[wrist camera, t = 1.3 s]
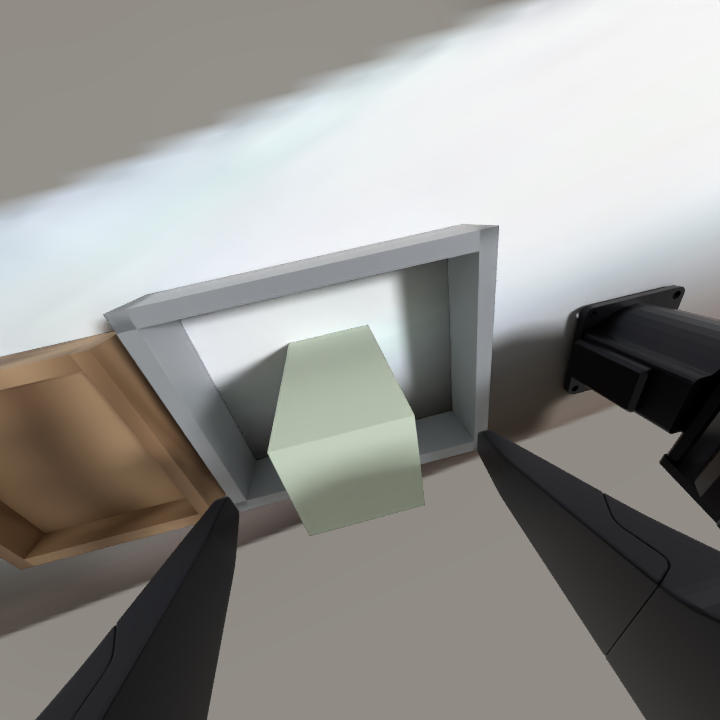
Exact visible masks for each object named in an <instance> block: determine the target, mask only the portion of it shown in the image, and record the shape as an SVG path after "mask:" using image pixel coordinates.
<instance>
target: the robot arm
mask: <svg viewBox="0 0 720 720" xmlns="http://www.w3.org/2000/svg"><path fill="white" fill-rule="evenodd" d="M684 292H685V289H684V287H681V286H676V285H672V286H668V287H664V288H660V289H655V290H651V291H647V292H643V293H639V294H635V295H631V296H626V297H622V298H618V299H614V300H610V301H606V302H602V303H597V304H593V305H589V306H587V307H585V308H584V309H583V310H582V311H581V313H580V316H579V321H578V325H577V330H576V334H575V339H574V343H573V348H572V353H571V357H570V362H569V366H568V371H567V375H566V380H565V384H564V390H565V391H566V392H568V393H569V394H576V393H580V392H584V391H588V390H593V391H595V392H597V393H598V394H600V395H602V396H603V397H605V398H606V399H608V400H610V401H611V402H613V403H615V404H616V405H618V406H619V407H621V408H623V409H624V410H626V411H628V412H635V413H637V414H638V415H640V416H642V417H643V418H645V419H647V420H649V421H650V422H652V423H653V424H655V425H657V426H658V427H660V428H662V429H663V430H665V431H667V432H668V433H670V434H673V433H677V432H682V434H681V435H680V437H679V438H678V440H677V441H676V443H675V444H674V445H673V447H672V448H671V450H670V451H669V453H668V454H664V455H663V457H662V458H661V460H660V461H659V462H660V464H661V465H662V466H663V467H664V468H665V469H666V471H667V472H668V473H669V474H670V475H671V476H672V477H673V478H674V479H675V480H676V481H677V482H678V483H679V484H680V485H681V486H682V487H683V488H684V490H685V491H686V492H687V493H688V494H690V496H691V497H692V498H693V499H694V500H695V501H696V502H697V503H698V504H699V505H700V506H701V507H702V508H703V510H704V511H705V512H706V513H707V514H708V515H709V516H710V517H711V518H712V519H713V520H714V521H715V522H716V523H717V526H718V527H719V529H720V320H717V319H713V318H709V317H705V316H701V315H697V314H693V313H689V312H685V311H681V310H678V307H679V305H680V302H681V300H682V297H683V295H684ZM477 450H478V453H479V455H480V457H481V459H482V461H483V463H484V465H485V467H486V469H487V471H488V473H489V474H490V477H491V478H492V481H493V482H494V484H495V486H496V488H497V490H498V492H499V494H500V496H501V497H502V499H503V500H504V502H505V503H506V505H507V507H508V508H509V510H510V511H511V513H512V514H513V516H514V517H515V519H516V520H517V522H518V524H519V525H520V526H521V528H522V530H523V531H524V533H525V534H526V536H527V537H528V539H529V540H530V542H531V543H532V545H533V547H534V548H535V550H536V551H537V553H538V554H539V556H540V557H541V559H542V560H543V562H544V563H545V565H546V567H547V568H548V570H549V571H550V572H551V574H552V576H553V577H554V579H555V580H556V582H557V583H558V585H559V586H560V588H561V589H562V591H563V593H564V594H565V596H566V597H567V599H568V600H569V602H570V603H571V605H572V606H573V608H574V610H575V611H576V613H577V614H578V616H579V617H580V619H581V620H582V621H583V623H584V625H585V626H586V628H587V629H588V631H589V633H590V634H591V636H592V637H593V639H594V640H595V642H596V643H597V645H598V646H599V648H600V649H601V651H602V652H603V654H604V655H606V659H607V661H608V662H609V663H610V665H611V667H612V668H613V670H614V671H615V673H616V674H617V676H618V677H619V679H620V680H621V682H622V684H623V685H624V687H625V688H626V690H627V691H628V693H629V694H630V696H631V697H632V699H633V700H634V702H635V703H636V705H637V707H638V708H639V710H640V711H641V713H642V714H643V716H644V717H645V719H646V720H720V551H718V550H716V549H714V548H712V547H710V546H707V545H705V544H703V543H701V542H699V541H697V540H695V539H693V538H691V537H689V536H687V535H685V534H682V533H680V532H678V531H676V530H674V529H672V528H670V527H668V526H666V525H664V524H662V523H660V522H658V521H656V520H654V519H652V518H650V517H648V516H646V515H644V514H642V513H640V512H638V511H636V510H635V509H633V508H630V507H629V506H627V505H625V504H623V503H621V502H620V501H618V500H616V499H614V498H612V497H610V496H609V495H607V494H605V493H604V494H603V493H602V492H601V491H599V490H598V489H596V488H594V487H592V486H591V485H589V484H587V483H585V482H583V481H581V480H580V479H578V478H576V477H574V476H573V475H571V474H569V473H567V472H565V471H564V470H562V469H560V468H558V467H556V466H555V465H553V464H551V463H549V462H547V461H546V460H544V459H542V458H540V457H538V456H537V455H535V454H533V453H531V452H529V451H528V450H526V449H524V448H522V447H520V446H519V445H517V444H515V443H513V442H511V441H510V440H508V439H506V438H504V437H502V436H501V435H499V434H497V433H495V432H493V431H492V430H484V431H480V432H479V433H478V436H477ZM238 526H239V511H238V509H237V507H236V506H235V504H234V503H233V502H232V500H231V499H230V497H223V498H219V499H216V500H215V501H214V502H213V503H212V504H211V506H210V507H209V508H208V509H207V511H206V512H205V513H204V514H203V516H202V517H201V518H200V519H199V521H198V522H197V523H196V524H195V526H194V527H193V528H192V529H191V531H190V532H189V533H188V534H187V536H186V537H185V538H184V539H183V541H182V542H181V543H180V544H179V546H178V547H177V548H176V549H175V551H174V552H173V553H172V554H171V556H170V557H169V558H168V559H167V561H166V562H165V563H164V564H163V566H162V567H161V568H160V569H159V571H158V572H157V573H156V574H155V576H154V577H153V578H152V579H151V581H150V582H149V583H148V584H147V586H146V587H145V588H144V589H143V591H142V592H141V593H140V594H139V596H138V597H137V598H136V599H135V601H134V602H133V603H132V604H131V606H130V607H129V608H128V609H127V611H126V612H125V613H124V614H123V616H122V617H121V618H120V619H119V621H118V622H117V625H116V626H114V627H113V628H112V629H111V630H110V632H109V633H108V634H107V635H106V637H105V638H104V639H103V641H102V642H101V643H100V644H99V645H98V647H97V648H96V649H95V650H94V652H93V653H92V654H91V655H90V657H89V658H88V659H87V660H86V661H85V662H84V664H83V665H82V666H81V667H80V669H79V670H78V671H77V672H76V673H75V675H74V676H73V677H72V678H71V679H70V680H69V681H68V683H67V684H66V685H65V686H64V687H63V688H62V690H61V691H60V692H59V693H58V694H57V695H56V697H55V698H54V699H53V700H52V701H51V702H50V704H49V705H48V706H47V707H46V708H45V709H44V710H43V712H42V713H41V714H40V715H39V716H38V717H37V718H36V720H207V716H208V710H209V705H210V699H211V693H212V689H213V683H214V678H215V672H216V667H217V662H218V656H219V650H220V645H221V640H222V634H223V628H224V623H225V617H226V612H227V607H228V602H229V596H230V590H231V585H232V580H233V574H234V568H235V560H236V550H237V538H238Z"/></svg>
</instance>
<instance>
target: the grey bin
mask: <svg viewBox="0 0 720 720" xmlns="http://www.w3.org/2000/svg"><path fill="white" fill-rule="evenodd" d="M498 235H499V226H496V225H470V224H461V225H457V226H452V227H448V228H443V229H439V230H434V231H430V232H425V233H421V234H416V235H412V236H408V237H403V238H399V239H394V240H390V241H385V242H381V243H376V244H372V245H367V246H363V247H358V248H354V249H349V250H345V251H340V252H336V253H331V254H327V255H322V256H318V257H313V258H309V259H304V260H300V261H295V262H291V263H286V264H282V265H277V266H273V267H268V268H264V269H259V270H255V271H250V272H246V273H242V274H237V275H233V276H228V277H224V278H219V279H215V280H210V281H206V282H201V283H197V284H192V285H188V286H183V287H179V288H174V289H170V290H165V291H161V292H156V293H152V294H147V295H145V296H142V297H140V298H138V299H136V300H134V301H132V302H129V303H127V304H125V305H123V306H121V307H118V308H116V309H114V310H112V311H110V312H107V313H105V314H103V315H104V317H105V318H106V320H107V321H108V323H109V324H110V326H111V327H112V328H113V330H114V331H115V333H116V334H117V336H118V337H119V339H120V340H121V342H122V343H123V345H124V346H125V347H126V349H127V350H128V352H129V353H130V355H131V356H132V358H133V359H134V361H135V362H136V363H137V365H138V366H139V368H140V369H141V371H142V372H143V374H144V375H145V377H146V378H147V380H148V381H149V382H150V384H151V385H152V387H153V388H154V390H155V391H156V393H157V394H158V396H159V397H160V399H161V400H162V401H163V403H164V404H165V406H166V407H167V409H168V410H169V412H170V413H171V415H172V416H173V417H174V419H175V420H176V422H177V423H178V425H179V426H180V428H181V429H182V431H183V432H184V434H185V435H186V436H187V438H188V439H189V441H190V442H191V444H192V445H193V447H194V448H195V450H196V451H197V452H198V454H199V455H200V457H201V458H202V460H203V461H204V463H205V464H206V466H207V467H208V469H209V470H210V471H211V473H212V474H213V476H214V477H215V479H216V480H217V482H218V483H219V485H220V486H221V487H222V489H223V490H224V492H225V493H226V495H227V496H228V497H230V499H231V500H232V502H233V503H234V504H235V506H236V507H237V509H238V511H239V512H241V511H245V510H249V509H252V508H256V507H260V506H264V505H268V504H272V503H275V502H279V501H283V500H287V499H291V498H290V496H289V494H288V493H287V491H286V489H285V487H284V485H283V483H282V481H281V479H280V477H279V475H278V473H277V471H276V469H275V467H274V465H273V463H272V461H271V459H270V457H267V458H263V459H260V460H256V459H255V458H254V456H253V454H252V452H251V450H250V448H249V447H248V445H247V443H246V441H245V439H244V437H243V436H242V434H241V432H240V430H239V428H238V426H237V425H236V423H235V421H234V419H233V417H232V415H231V414H230V412H229V410H228V408H227V406H226V404H225V403H224V401H223V399H222V397H221V395H220V393H219V392H218V390H217V388H216V386H215V384H214V382H213V381H212V379H211V377H210V375H209V373H208V371H207V370H206V368H205V366H204V364H203V362H202V360H201V359H200V357H199V355H198V353H197V351H196V350H195V348H194V346H193V344H192V342H191V340H190V339H189V337H188V335H187V333H186V331H185V329H184V328H183V326H182V324H181V322H180V320H179V319H184V318H188V317H192V316H197V315H201V314H206V313H210V312H214V311H219V310H223V309H228V308H232V307H236V306H241V305H245V304H249V303H254V302H258V301H263V300H267V299H271V298H276V297H280V296H285V295H289V294H293V293H298V292H302V291H306V290H311V289H315V288H320V287H324V286H328V285H333V284H337V283H342V282H346V281H350V280H355V279H359V278H364V277H368V276H372V275H377V274H381V273H385V272H390V271H394V270H399V269H403V268H407V267H412V266H416V265H421V264H425V263H429V262H434V261H438V260H442V259H447V258H448V272H449V308H450V344H451V380H452V411H449V412H445V413H441V414H437V415H433V416H429V417H425V418H421V419H417V420H415V423H416V431H417V440H418V448H419V457H420V465H421V464H425V463H429V462H432V461H436V460H440V459H444V458H448V457H451V456H455V455H459V454H463V453H467V452H471V451H474V450H477V436H478V433H479V432H480V431H484V430H488V412H489V395H490V377H491V359H492V342H493V324H494V306H495V288H496V271H497V253H498Z"/></svg>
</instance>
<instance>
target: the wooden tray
mask: <svg viewBox="0 0 720 720" xmlns="http://www.w3.org/2000/svg"><path fill="white" fill-rule="evenodd" d="M225 494H226V493H225V492H224V490H223V489H222V487H221V486H220V485H219V483H218V482H217V480H216V479H215V477H214V476H213V474H212V473H211V471H210V470H209V469H208V467H207V466H206V464H205V463H204V461H203V460H202V458H201V457H200V455H199V454H198V452H197V451H196V450H195V448H194V447H193V445H192V444H191V442H190V441H189V439H188V438H187V436H186V435H185V434H184V432H183V431H182V429H181V428H180V426H179V425H178V423H177V422H176V420H175V419H174V417H173V416H172V415H171V413H170V412H169V410H168V409H167V407H166V406H165V404H164V403H163V401H162V400H161V399H160V397H159V396H158V394H157V393H156V391H155V390H154V388H153V387H152V385H151V384H150V382H149V381H148V380H147V378H146V377H145V375H144V374H143V372H142V371H141V369H140V368H139V366H138V365H137V363H136V362H135V361H134V359H133V358H132V356H131V355H130V353H129V352H128V350H127V349H126V347H125V346H124V345H123V343H122V342H121V340H120V339H119V337H118V336H117V334H116V333H115V331H112V332H108V333H103V334H99V335H94V336H90V337H86V338H81V339H77V340H73V341H68V342H64V343H59V344H55V345H51V346H46V347H42V348H37V349H33V350H29V351H24V352H20V353H15V354H11V355H7V356H2V357H0V557H1V558H2V559H4V560H6V561H7V562H9V563H11V564H12V565H14V566H15V567H17V568H19V569H20V570H21V569H25V568H29V567H33V566H37V565H41V564H44V563H48V562H52V561H56V560H60V559H64V558H67V557H71V556H75V555H79V554H83V553H86V552H90V551H94V550H98V549H102V548H106V547H109V546H113V545H117V544H121V543H125V542H129V541H132V540H136V539H140V538H144V537H148V536H152V535H155V534H159V533H163V532H167V531H171V530H174V529H178V528H182V527H186V526H190V525H194V524H196V523H197V522H198V521H199V519H200V518H201V517H202V516H203V514H204V513H205V512H206V511H207V509H208V508H209V507H210V506H211V504H212V503H213V502H214V501H215V500H216V499H219V498H223V497H225Z"/></svg>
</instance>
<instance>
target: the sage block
mask: <svg viewBox="0 0 720 720" xmlns="http://www.w3.org/2000/svg"><path fill="white" fill-rule="evenodd" d="M267 453H268V455H269V457H270V459H271V461H272V463H273V465H274V467H275V469H276V471H277V473H278V475H279V477H280V479H281V481H282V483H283V485H284V487H285V489H286V491H287V493H288V494H289V496H290V498H291V500H292V502H293V504H294V506H295V508H296V510H297V512H298V514H299V516H300V518H301V520H302V522H303V524H304V526H305V528H306V530H307V532H308V534H309V536H312V535H316V534H320V533H323V532H327V531H331V530H334V529H338V528H341V527H345V526H349V525H353V524H357V523H360V522H364V521H368V520H371V519H375V518H379V517H383V516H386V515H390V514H394V513H398V512H401V511H405V510H409V509H412V508H416V507H420V506H423V505H425V499H424V491H423V484H422V483H423V482H422V474H421V465H420V457H419V448H418V440H417V431H416V423H415V415H414V413H413V411H412V409H411V407H410V406H409V404H408V402H407V400H406V398H405V396H404V394H403V392H402V390H401V388H400V386H399V384H398V382H397V380H396V378H395V376H394V374H393V372H392V370H391V368H390V367H389V365H388V363H387V361H386V359H385V357H384V355H383V353H382V351H381V349H380V347H379V345H378V343H377V341H376V339H375V337H374V335H373V333H372V331H371V330H370V328H369V326H368V325H364V326H360V327H356V328H351V329H347V330H343V331H339V332H334V333H330V334H326V335H322V336H318V337H313V338H309V339H305V340H301V341H296V342H292V343H289V346H288V351H287V356H286V361H285V367H284V372H283V377H282V382H281V387H280V392H279V397H278V402H277V407H276V412H275V417H274V422H273V427H272V432H271V437H270V442H269V447H268V452H267Z"/></svg>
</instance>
